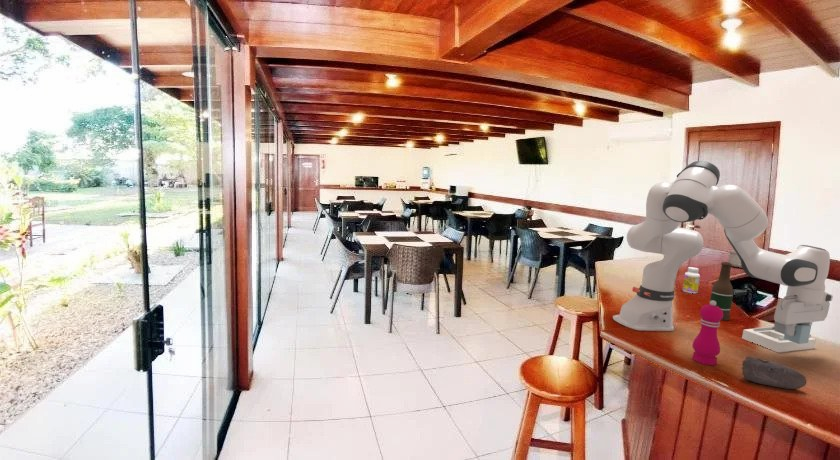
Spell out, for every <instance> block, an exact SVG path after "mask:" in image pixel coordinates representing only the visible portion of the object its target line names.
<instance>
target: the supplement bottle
mask: <svg viewBox="0 0 840 460" xmlns="http://www.w3.org/2000/svg"><path fill="white" fill-rule="evenodd" d="M699 270H700V269H699V268H697V267H692V266H688V267H687V271H686V272H685V273H684V278H683V283H682V291H683V292H684V293H687V294H692V293H693V294H698V293H699V292H698V291H699V284H700V279H701V275H700V274H699Z"/></svg>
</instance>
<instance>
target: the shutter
mask: <svg viewBox="0 0 840 460" xmlns="http://www.w3.org/2000/svg"><path fill="white" fill-rule="evenodd" d="M773 326H774V330H777V331H779V332H782V333H785V329H786V325H784V324H781V323H778V322H776V321H775V320H774V324H773Z"/></svg>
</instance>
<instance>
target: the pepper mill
mask: <svg viewBox="0 0 840 460" xmlns="http://www.w3.org/2000/svg"><path fill="white" fill-rule="evenodd" d="M709 304H710V305H709ZM709 304H704V305H703V306H701V307H700V310H699V316H701V318H700V324H701V325H700V326H701V327H700V330H699V333H698V334H697V336H696V337H695V338H694V340H693V342H692V349H693V350H694V351H693V354H692V359H693V360H694V361H696V362H697V363H700V364H703V365H707V366H715V365H716V364H717V361H718V358H717V356H718V355H720V353H721V345H720V343H719V339H718V329H719V327H720V326H721V322H720V321H722V320H721V319H722V318H723V311H722V309H721V308H719V307H718V306H715V305H716V301H714V300H712V301H710V300H709Z"/></svg>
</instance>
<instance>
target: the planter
mask: <svg viewBox="0 0 840 460" xmlns="http://www.w3.org/2000/svg"><path fill="white" fill-rule="evenodd" d="M728 262H729V263H731V264H732V266H731V267H733V266H734V267H733V268H735V267H739V268H738V269H741V268H742V264H741V261H740V258H739V256H738V255H737V253H736V252H735V250H730V252H729V257H728Z"/></svg>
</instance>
